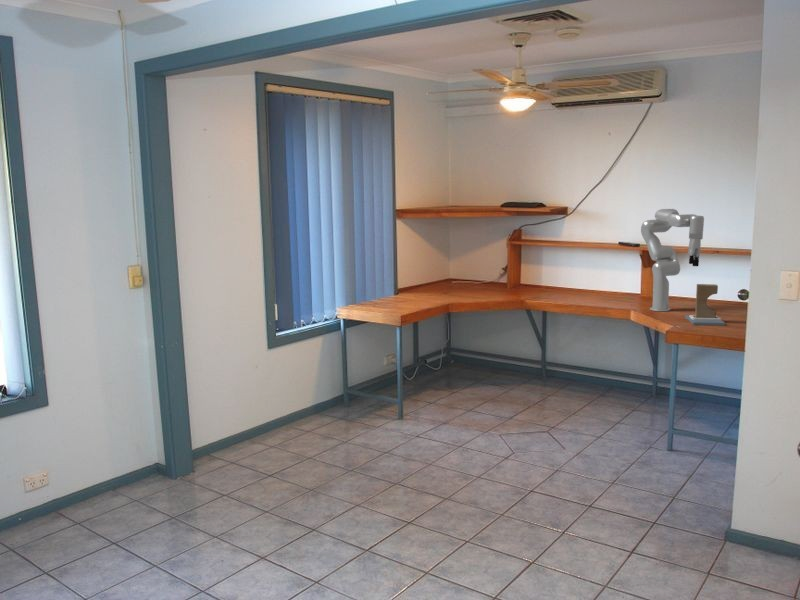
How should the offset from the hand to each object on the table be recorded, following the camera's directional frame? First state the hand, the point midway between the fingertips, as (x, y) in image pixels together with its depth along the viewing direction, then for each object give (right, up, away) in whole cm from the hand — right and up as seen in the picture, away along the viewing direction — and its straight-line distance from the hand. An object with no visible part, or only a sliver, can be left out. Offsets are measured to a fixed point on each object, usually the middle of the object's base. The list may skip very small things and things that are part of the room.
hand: (693, 264), depth 407 cm
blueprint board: (+4, -34, -6) cm, 34 cm away
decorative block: (+5, -32, -6) cm, 33 cm away
